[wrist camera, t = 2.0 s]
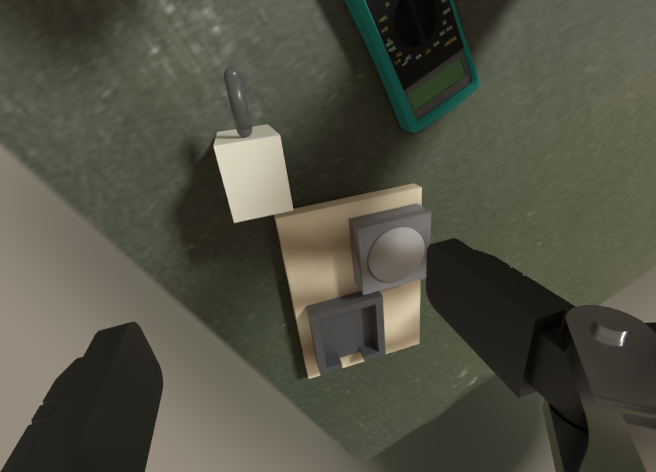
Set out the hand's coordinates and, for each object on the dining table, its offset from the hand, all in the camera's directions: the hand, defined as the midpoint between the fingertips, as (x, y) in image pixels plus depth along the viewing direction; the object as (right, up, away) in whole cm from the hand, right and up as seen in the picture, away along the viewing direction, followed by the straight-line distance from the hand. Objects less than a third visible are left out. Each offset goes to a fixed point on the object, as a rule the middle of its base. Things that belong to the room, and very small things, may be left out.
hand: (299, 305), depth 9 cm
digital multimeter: (+7, +19, +17) cm, 26 cm away
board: (+4, -3, +26) cm, 26 cm away
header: (+3, -8, +26) cm, 27 cm away
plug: (-6, +10, +17) cm, 20 cm away
